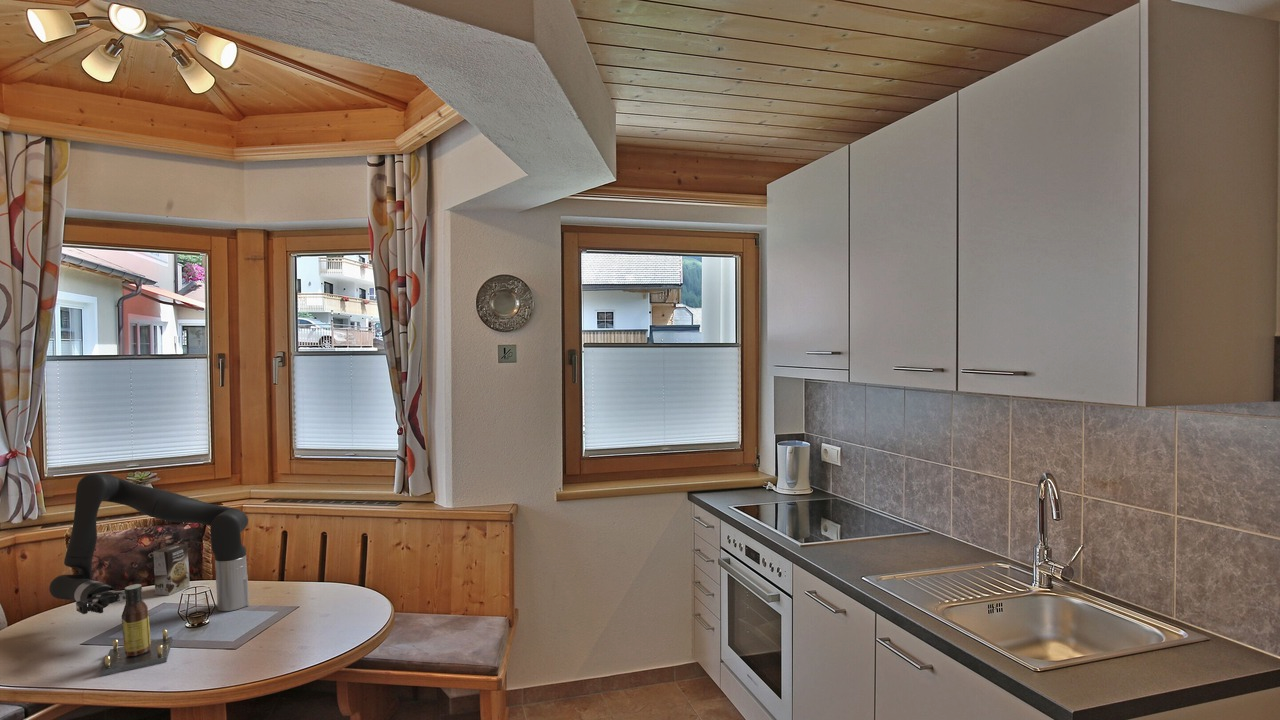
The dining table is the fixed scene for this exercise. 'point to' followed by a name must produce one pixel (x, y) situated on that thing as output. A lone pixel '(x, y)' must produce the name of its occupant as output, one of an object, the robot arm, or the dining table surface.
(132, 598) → the sauce bottle
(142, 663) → the standoff plate
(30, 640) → the dining table surface
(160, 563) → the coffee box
